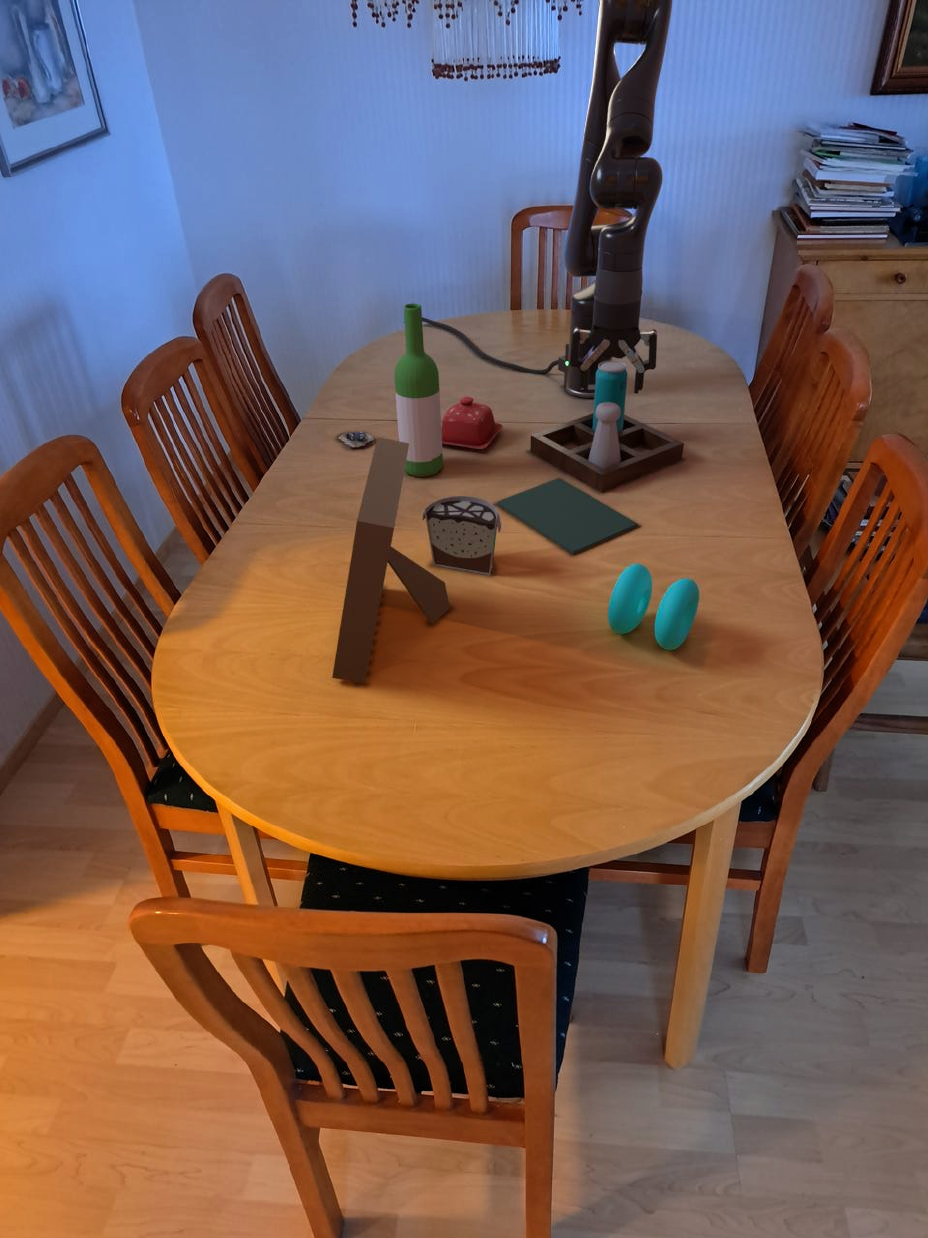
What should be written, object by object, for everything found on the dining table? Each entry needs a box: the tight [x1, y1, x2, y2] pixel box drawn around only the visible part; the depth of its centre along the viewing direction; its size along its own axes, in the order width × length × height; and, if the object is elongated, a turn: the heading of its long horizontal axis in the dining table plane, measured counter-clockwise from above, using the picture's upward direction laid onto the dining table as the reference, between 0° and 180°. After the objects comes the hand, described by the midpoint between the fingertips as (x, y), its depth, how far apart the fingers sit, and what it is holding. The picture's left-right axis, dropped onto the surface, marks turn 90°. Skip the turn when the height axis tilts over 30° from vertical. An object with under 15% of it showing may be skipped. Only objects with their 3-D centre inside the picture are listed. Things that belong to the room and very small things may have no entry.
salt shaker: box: [588, 402, 621, 469], centre depth 160 cm, size 6×6×13 cm
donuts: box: [607, 563, 700, 651], centre depth 122 cm, size 10×10×10 cm
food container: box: [421, 495, 502, 576], centre depth 139 cm, size 12×6×10 cm, turn 71°
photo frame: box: [331, 436, 451, 684], centre depth 120 cm, size 15×22×25 cm
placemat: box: [496, 477, 639, 555], centre depth 152 cm, size 20×14×1 cm
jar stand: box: [530, 412, 685, 493], centre depth 168 cm, size 20×20×4 cm
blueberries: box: [338, 430, 376, 448], centre depth 176 cm, size 7×8×2 cm
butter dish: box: [441, 396, 503, 450], centre depth 173 cm, size 12×12×8 cm
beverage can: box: [592, 360, 628, 432], centre depth 169 cm, size 6×6×15 cm
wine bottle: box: [393, 302, 444, 478], centre depth 157 cm, size 8×8×30 cm
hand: (610, 390), depth 154 cm, fingers open, 8 cm apart
